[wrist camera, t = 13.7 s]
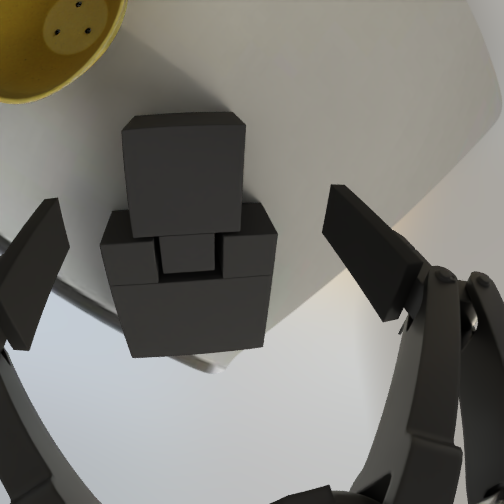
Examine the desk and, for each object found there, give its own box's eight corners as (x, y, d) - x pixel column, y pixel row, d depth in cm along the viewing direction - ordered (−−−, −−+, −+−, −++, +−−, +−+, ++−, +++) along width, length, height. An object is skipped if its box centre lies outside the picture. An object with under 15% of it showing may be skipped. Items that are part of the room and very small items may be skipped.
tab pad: (233, 111, 21) (246, 124, 17) (228, 232, 26) (238, 268, 22) (134, 116, 19) (121, 130, 15) (144, 237, 25) (139, 275, 21)
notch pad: (261, 202, 25) (278, 233, 21) (252, 310, 32) (263, 347, 28) (111, 210, 23) (99, 244, 19) (135, 319, 29) (132, 358, 25)
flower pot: (8, 92, 15) (-47, 110, 9) (33, -30, 10) (-13, -51, 4) (128, 91, 18) (104, 104, 12) (161, -38, 13) (153, -77, 7)
